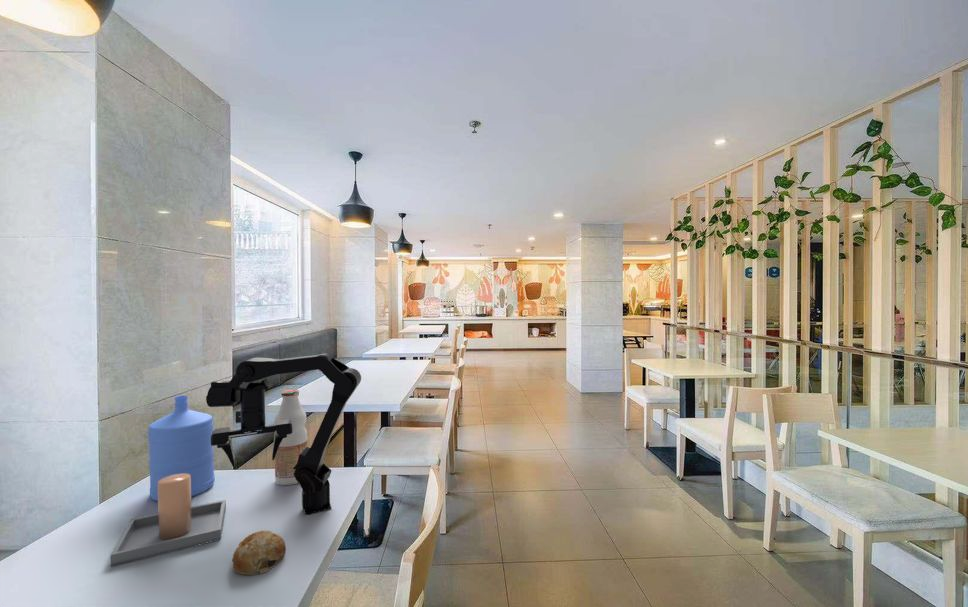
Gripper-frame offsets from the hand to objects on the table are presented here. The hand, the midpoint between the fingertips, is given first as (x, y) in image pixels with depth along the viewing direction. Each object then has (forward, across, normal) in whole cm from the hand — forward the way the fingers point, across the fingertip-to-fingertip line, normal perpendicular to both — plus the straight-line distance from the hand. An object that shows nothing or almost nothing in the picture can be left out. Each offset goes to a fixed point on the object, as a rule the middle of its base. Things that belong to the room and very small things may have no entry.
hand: (253, 463), depth 111 cm
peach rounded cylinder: (+12, +17, +3) cm, 21 cm away
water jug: (+13, +19, -24) cm, 33 cm away
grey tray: (+13, +17, +3) cm, 22 cm away
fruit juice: (+13, -10, -16) cm, 23 cm away
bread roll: (+13, -1, +24) cm, 28 cm away
